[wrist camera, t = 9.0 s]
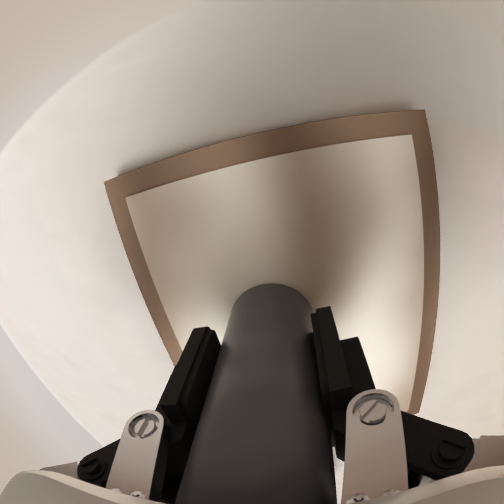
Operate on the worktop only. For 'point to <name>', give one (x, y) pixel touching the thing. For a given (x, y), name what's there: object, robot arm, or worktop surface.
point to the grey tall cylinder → (263, 410)
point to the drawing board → (297, 235)
